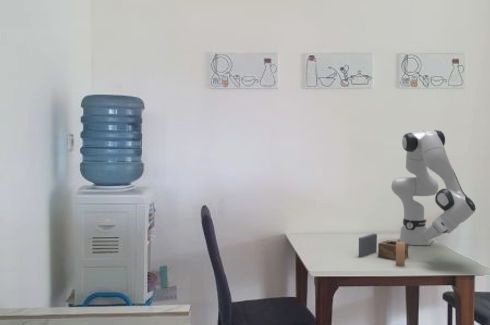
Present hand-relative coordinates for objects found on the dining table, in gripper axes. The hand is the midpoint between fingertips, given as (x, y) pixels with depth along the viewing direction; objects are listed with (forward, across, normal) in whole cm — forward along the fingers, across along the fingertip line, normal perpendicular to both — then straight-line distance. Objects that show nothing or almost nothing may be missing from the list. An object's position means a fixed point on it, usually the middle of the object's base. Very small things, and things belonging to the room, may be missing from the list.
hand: (424, 241), depth 214 cm
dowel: (+11, +15, +3) cm, 19 cm away
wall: (+26, +7, -12) cm, 29 cm away
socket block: (+17, +3, -3) cm, 18 cm away
